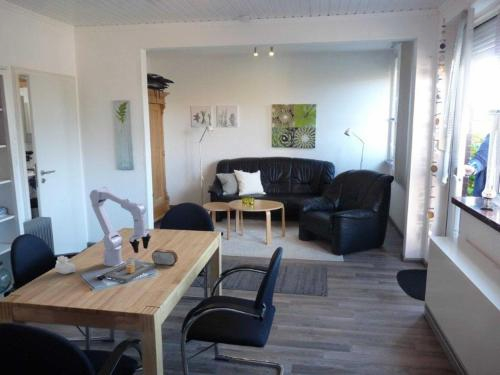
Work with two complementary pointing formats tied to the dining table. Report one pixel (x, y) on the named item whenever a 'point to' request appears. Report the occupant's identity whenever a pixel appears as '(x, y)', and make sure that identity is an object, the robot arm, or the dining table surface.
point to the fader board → (126, 277)
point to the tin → (164, 257)
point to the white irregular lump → (64, 266)
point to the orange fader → (130, 268)
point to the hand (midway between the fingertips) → (141, 250)
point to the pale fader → (130, 261)
